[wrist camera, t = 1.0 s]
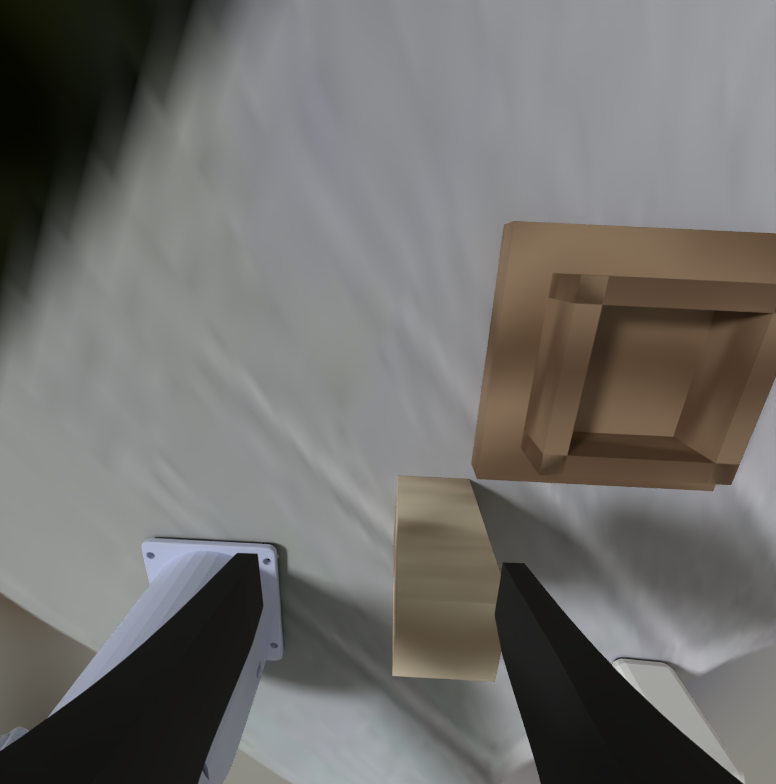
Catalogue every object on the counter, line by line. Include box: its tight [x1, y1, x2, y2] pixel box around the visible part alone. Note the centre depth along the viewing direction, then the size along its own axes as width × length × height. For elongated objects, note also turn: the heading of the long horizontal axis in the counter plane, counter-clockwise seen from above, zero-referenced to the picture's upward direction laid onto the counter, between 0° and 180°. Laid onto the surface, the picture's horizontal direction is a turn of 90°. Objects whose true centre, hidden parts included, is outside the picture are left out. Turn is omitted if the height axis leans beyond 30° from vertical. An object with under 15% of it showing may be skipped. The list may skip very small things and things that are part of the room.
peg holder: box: [472, 221, 776, 491], centre depth 16 cm, size 12×12×4 cm
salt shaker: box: [612, 659, 746, 784], centre depth 21 cm, size 4×4×10 cm
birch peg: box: [392, 475, 501, 682], centre depth 17 cm, size 4×4×8 cm
